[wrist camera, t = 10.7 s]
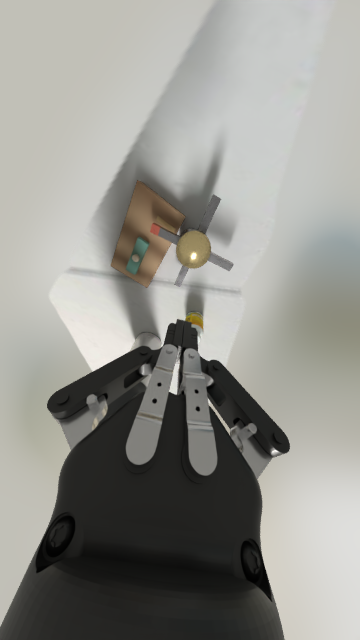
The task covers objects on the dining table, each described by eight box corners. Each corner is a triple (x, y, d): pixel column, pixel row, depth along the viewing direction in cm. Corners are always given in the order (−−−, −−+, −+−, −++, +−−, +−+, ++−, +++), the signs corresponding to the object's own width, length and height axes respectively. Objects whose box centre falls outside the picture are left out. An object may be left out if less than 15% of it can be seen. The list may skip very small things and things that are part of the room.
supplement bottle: (199, 326, 48) (198, 349, 40) (183, 321, 47) (179, 343, 40) (206, 314, 44) (206, 336, 37) (189, 308, 44) (186, 329, 36)
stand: (149, 283, 41) (144, 291, 37) (115, 262, 38) (105, 268, 35) (185, 216, 31) (183, 217, 27) (141, 181, 28) (132, 178, 24)
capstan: (253, 219, 29) (264, 222, 24) (209, 290, 39) (210, 304, 34) (172, 173, 27) (164, 165, 21) (147, 262, 37) (138, 271, 31)
